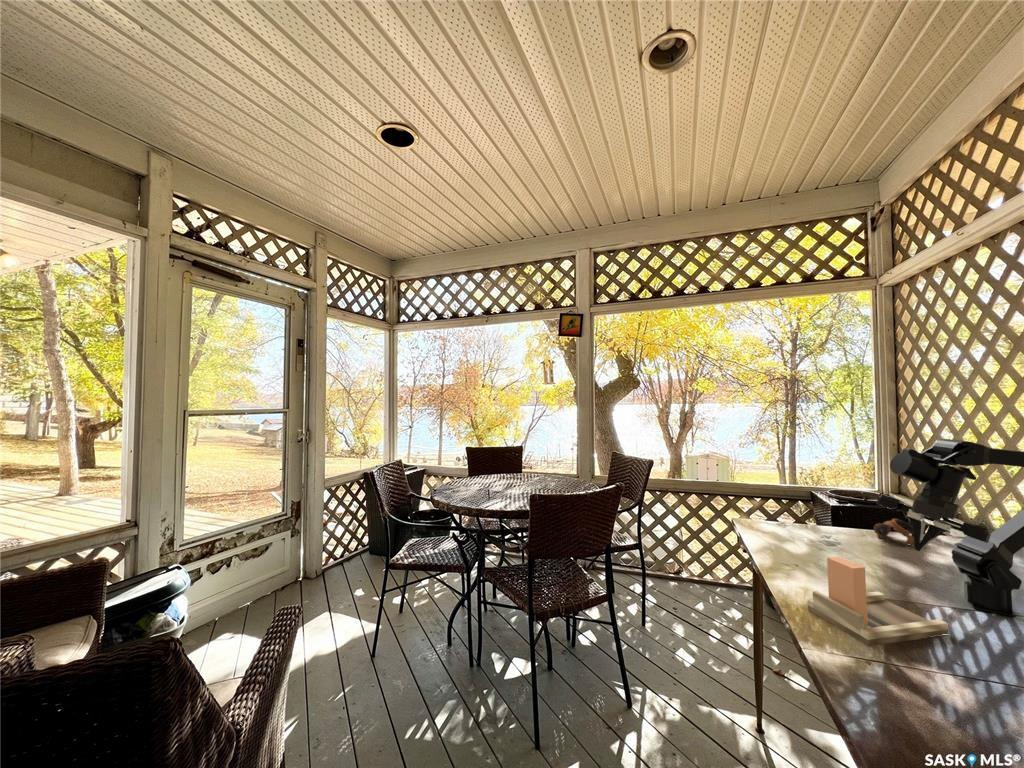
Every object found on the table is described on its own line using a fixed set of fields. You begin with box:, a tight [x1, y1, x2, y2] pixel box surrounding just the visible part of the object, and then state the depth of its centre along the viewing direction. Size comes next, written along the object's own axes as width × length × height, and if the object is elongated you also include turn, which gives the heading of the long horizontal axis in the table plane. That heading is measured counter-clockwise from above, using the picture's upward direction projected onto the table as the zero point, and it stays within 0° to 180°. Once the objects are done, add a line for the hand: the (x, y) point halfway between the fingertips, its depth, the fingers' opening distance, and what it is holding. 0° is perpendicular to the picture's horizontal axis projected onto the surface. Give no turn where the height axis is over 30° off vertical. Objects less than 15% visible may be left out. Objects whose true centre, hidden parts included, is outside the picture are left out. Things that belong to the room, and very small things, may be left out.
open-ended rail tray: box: [807, 590, 949, 647], centre depth 90 cm, size 20×14×5 cm
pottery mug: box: [873, 518, 914, 545], centre depth 137 cm, size 12×10×8 cm
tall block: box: [826, 556, 868, 625], centre depth 89 cm, size 3×6×12 cm, turn 9°
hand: (917, 550), depth 97 cm, fingers closed
